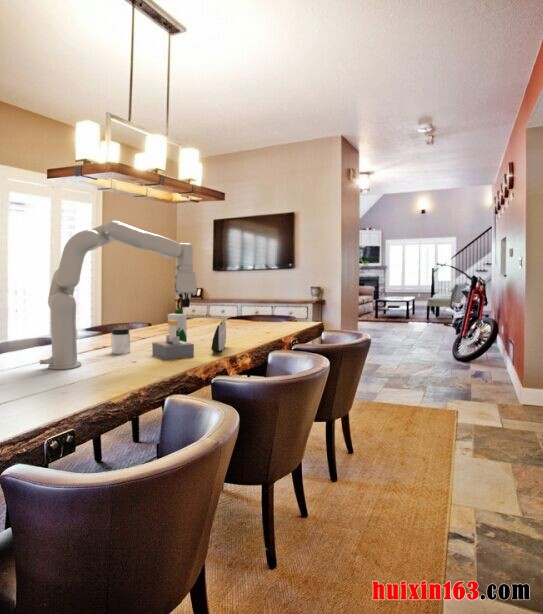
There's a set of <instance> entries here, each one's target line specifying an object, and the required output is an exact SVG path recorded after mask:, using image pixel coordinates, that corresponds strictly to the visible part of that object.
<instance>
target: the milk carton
mask: <svg viewBox="0 0 543 614" xmlns="http://www.w3.org/2000/svg"><path fill="white" fill-rule="evenodd" d="M183 310H184V309H175V310H174V312H173V313H169V314H167V315H166V316H167V320H175V321H177V325H176V337H179V340H180V341H184V342H188V340H187V339H188V337H187V317H188V316H187V315H188V314H187V313H184V311H183Z"/></svg>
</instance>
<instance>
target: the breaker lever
mask: <svg viewBox="0 0 543 614" xmlns="http://www.w3.org/2000/svg"><path fill="white" fill-rule="evenodd" d="M166 323H167V326H168V335H169V338H168V341H169V342H171V343H173V337H176V325H177V321H175V320H168V319H167V322H166Z"/></svg>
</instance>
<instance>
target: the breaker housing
mask: <svg viewBox="0 0 543 614" xmlns="http://www.w3.org/2000/svg"><path fill="white" fill-rule="evenodd" d="M165 336H166V337H165V339H166V340H165V341H158V342H157V341H156V342H152V343H151V344H152V356H154V357H156V356H157V358H159V359H162V360H164V359H165V360H164V361H171V360H177V359H178V358H180V359H186V358H185V357H188V358H193V356H194V357H195V349H194V348H195V347H194V346H195V344H194V343H190V342H188V341H187V342H184V341H180V340H179V337H173V343H171V342H169V341H168V338H169V334H166V335H165ZM170 359H171V360H170ZM178 360H179V359H178Z"/></svg>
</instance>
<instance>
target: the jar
mask: <svg viewBox="0 0 543 614" xmlns="http://www.w3.org/2000/svg"><path fill="white" fill-rule="evenodd" d="M110 335H111V336H110V339H111V353H112V354H114V355H125V354H129V353H131V334H130V328H128V327H116V328H111V334H110Z"/></svg>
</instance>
